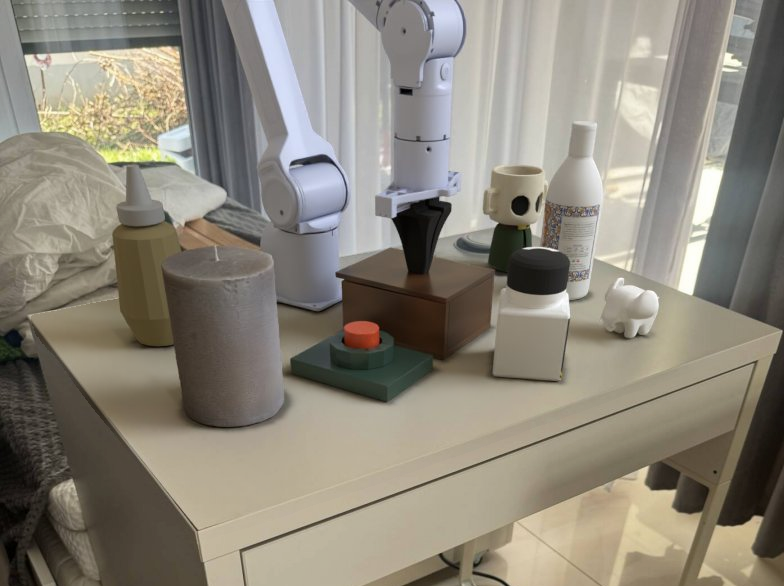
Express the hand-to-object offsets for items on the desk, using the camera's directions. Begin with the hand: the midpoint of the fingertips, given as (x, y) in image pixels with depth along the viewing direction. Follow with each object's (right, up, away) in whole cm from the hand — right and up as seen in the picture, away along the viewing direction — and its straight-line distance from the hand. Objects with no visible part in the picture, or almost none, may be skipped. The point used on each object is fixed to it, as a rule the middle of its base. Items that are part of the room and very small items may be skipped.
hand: (418, 271), depth 87 cm
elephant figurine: (+25, -6, +4) cm, 26 cm away
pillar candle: (-18, -17, -12) cm, 27 cm away
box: (0, -6, +4) cm, 7 cm away
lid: (0, 0, 0) cm, 1 cm away
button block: (-6, -12, -5) cm, 15 cm away
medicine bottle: (+12, -12, -3) cm, 17 cm away
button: (-6, -10, -7) cm, 14 cm away
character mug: (+13, +8, +23) cm, 28 cm away
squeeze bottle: (-29, -7, +1) cm, 30 cm away
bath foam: (+19, +2, +16) cm, 25 cm away
